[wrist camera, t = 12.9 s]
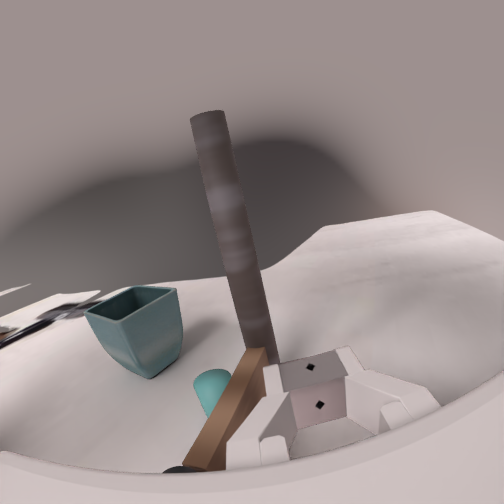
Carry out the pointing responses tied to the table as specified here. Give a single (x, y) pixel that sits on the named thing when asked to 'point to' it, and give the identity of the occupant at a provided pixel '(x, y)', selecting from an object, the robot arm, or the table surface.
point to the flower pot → (140, 328)
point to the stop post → (211, 388)
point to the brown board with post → (242, 289)
